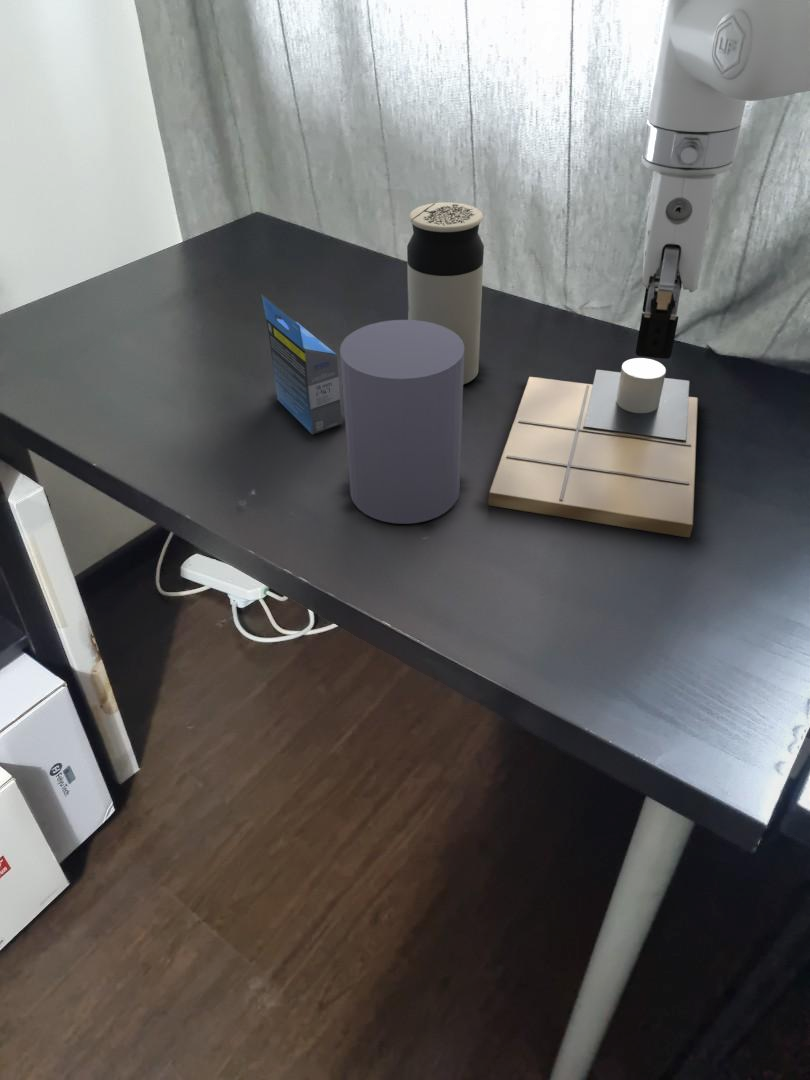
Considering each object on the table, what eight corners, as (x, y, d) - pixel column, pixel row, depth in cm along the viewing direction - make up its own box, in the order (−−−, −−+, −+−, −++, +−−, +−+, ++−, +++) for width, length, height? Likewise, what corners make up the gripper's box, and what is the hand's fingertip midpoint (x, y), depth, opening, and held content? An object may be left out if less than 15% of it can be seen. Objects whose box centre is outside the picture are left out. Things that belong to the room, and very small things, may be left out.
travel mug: (491, 367, 96) (500, 210, 84) (453, 397, 91) (457, 234, 79) (434, 349, 100) (435, 196, 88) (395, 377, 95) (391, 218, 83)
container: (474, 473, 80) (481, 330, 70) (436, 537, 73) (438, 388, 63) (376, 451, 83) (370, 312, 74) (331, 511, 76) (318, 365, 66)
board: (695, 395, 91) (699, 382, 89) (689, 538, 72) (693, 523, 71) (532, 375, 95) (533, 361, 93) (487, 505, 76) (488, 490, 75)
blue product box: (344, 425, 87) (336, 316, 79) (311, 436, 86) (299, 326, 78) (306, 389, 93) (294, 284, 85) (274, 399, 91) (259, 293, 83)
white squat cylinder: (660, 394, 88) (667, 360, 85) (657, 416, 84) (665, 381, 82) (617, 389, 89) (623, 355, 86) (614, 410, 85) (619, 375, 83)
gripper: (737, 178, 63) (693, 379, 74) (734, 122, 75) (696, 301, 86) (636, 172, 64) (608, 370, 75) (649, 119, 77) (623, 295, 88)
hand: (655, 333), depth 81 cm, fingers open, 9 cm apart
